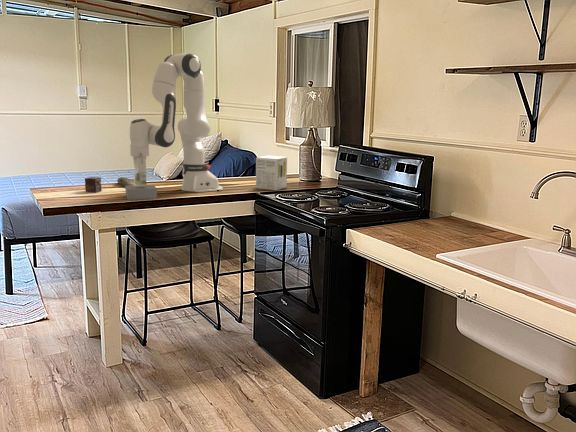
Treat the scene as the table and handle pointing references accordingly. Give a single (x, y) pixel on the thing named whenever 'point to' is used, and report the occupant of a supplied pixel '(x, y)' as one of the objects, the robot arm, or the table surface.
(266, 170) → the supplement box
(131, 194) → the block
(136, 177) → the sage block
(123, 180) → the elongated rock
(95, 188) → the box
